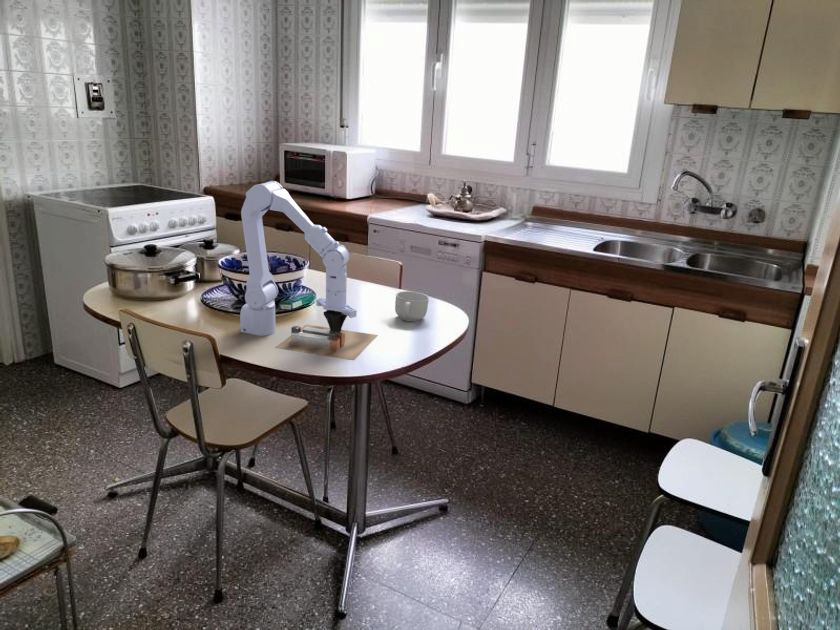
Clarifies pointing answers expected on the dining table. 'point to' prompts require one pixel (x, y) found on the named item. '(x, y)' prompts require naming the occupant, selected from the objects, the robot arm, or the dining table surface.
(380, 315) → the dining table surface
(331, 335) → the tong arm
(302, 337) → the tongs fixed half
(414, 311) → the teacup
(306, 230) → the robot arm
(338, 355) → the board
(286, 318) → the dining table surface
